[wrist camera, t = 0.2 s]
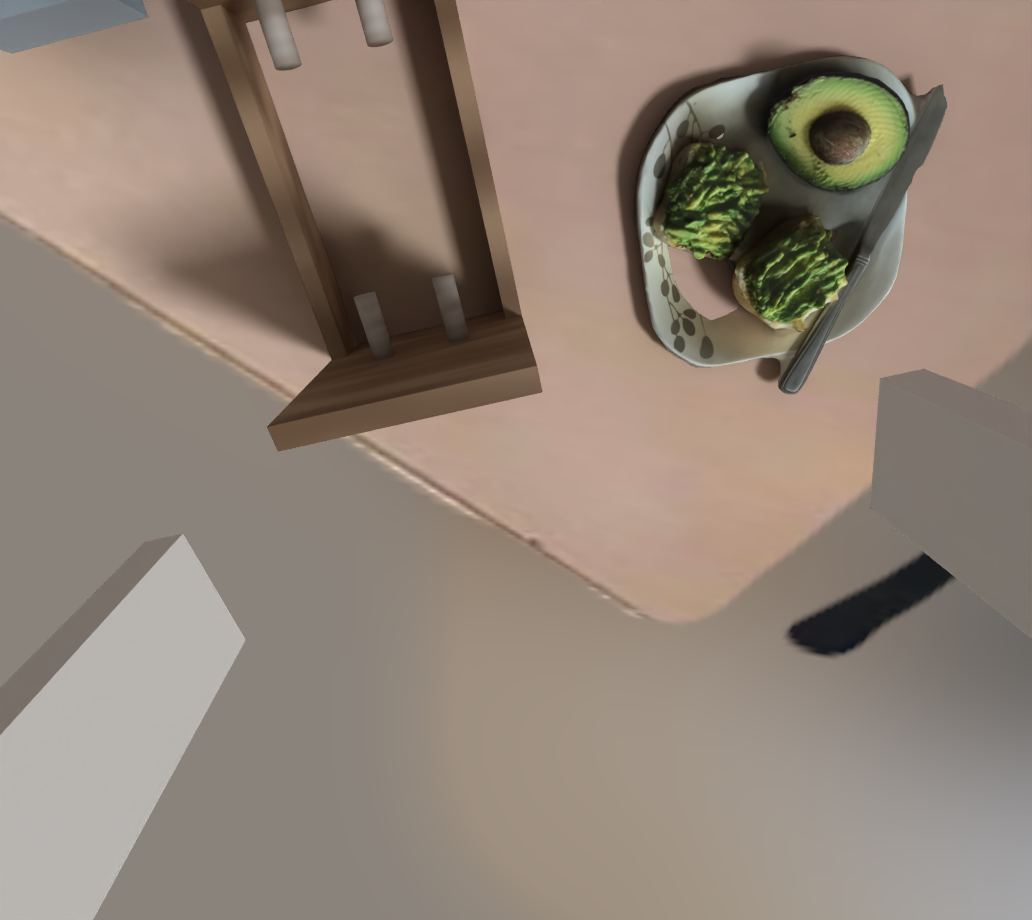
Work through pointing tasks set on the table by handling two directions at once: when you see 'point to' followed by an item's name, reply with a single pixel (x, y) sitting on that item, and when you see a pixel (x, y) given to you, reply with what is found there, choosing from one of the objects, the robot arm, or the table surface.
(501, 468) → the table surface
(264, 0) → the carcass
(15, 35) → the blue-grey rectangular block
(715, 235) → the salad plate
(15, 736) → the robot arm
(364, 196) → the table surface
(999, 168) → the table surface
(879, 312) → the table surface
